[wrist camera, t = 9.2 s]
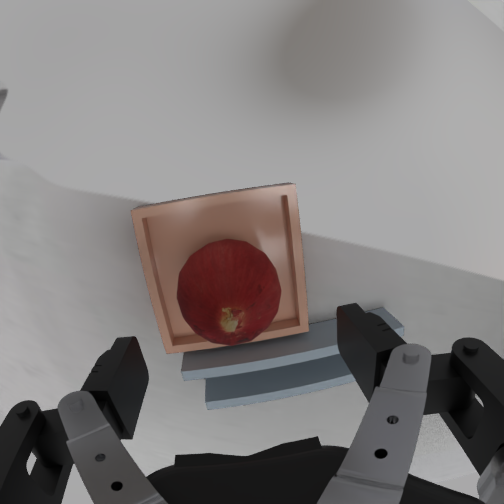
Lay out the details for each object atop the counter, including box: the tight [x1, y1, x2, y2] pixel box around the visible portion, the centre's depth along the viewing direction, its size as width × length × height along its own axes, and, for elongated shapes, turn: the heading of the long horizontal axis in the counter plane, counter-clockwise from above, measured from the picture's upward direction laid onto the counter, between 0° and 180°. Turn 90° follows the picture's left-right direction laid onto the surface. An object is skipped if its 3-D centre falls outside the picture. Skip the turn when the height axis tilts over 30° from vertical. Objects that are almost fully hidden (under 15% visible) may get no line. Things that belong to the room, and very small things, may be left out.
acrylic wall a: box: [205, 353, 356, 410], centre depth 23 cm, size 16×1×4 cm, turn 98°
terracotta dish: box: [131, 183, 309, 354], centre depth 21 cm, size 10×10×2 cm
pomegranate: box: [177, 239, 282, 346], centre depth 17 cm, size 6×6×8 cm
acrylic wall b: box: [181, 308, 404, 381], centre depth 22 cm, size 16×1×4 cm, turn 98°
